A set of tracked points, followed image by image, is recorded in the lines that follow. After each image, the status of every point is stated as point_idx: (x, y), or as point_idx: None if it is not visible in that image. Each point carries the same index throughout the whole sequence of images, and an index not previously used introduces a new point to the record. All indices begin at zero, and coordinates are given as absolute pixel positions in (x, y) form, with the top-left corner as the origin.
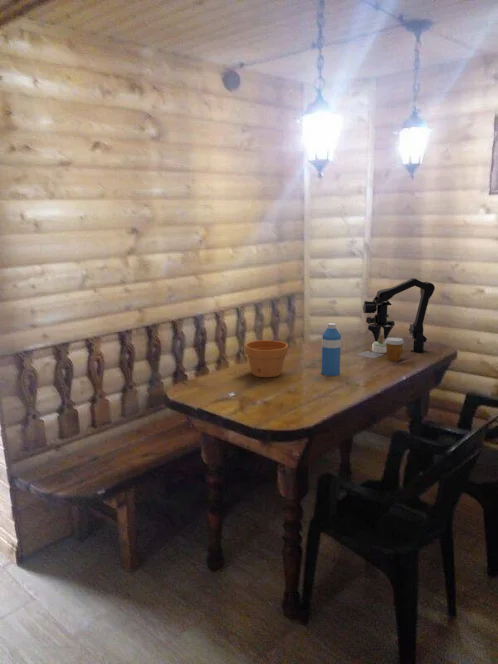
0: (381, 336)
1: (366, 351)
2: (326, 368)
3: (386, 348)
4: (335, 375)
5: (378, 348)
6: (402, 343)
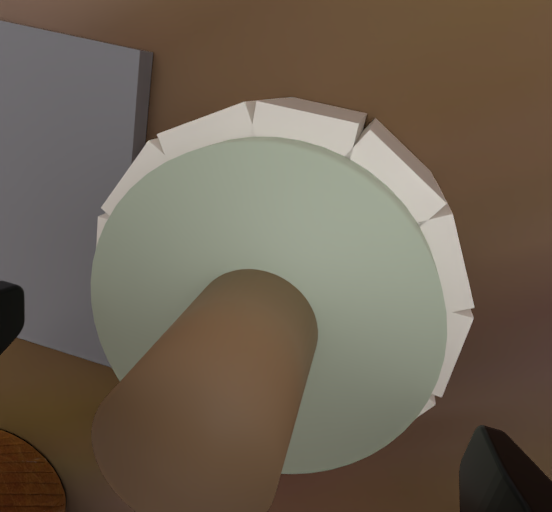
0: (132, 486)
1: (86, 59)
2: None
3: None
4: None
5: None
6: None
